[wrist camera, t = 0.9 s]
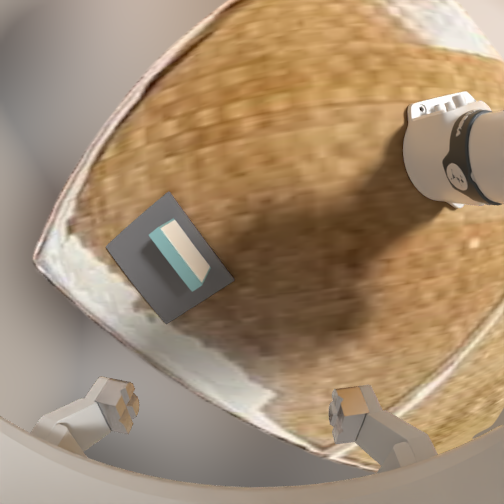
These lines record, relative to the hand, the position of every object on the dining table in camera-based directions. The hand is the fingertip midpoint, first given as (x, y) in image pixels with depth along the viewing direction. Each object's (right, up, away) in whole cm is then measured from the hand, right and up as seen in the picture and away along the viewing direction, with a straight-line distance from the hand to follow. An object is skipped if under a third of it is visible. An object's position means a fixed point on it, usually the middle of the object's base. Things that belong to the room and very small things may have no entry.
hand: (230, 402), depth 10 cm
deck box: (-8, +7, +30) cm, 32 cm away
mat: (-12, +4, +32) cm, 34 cm away
